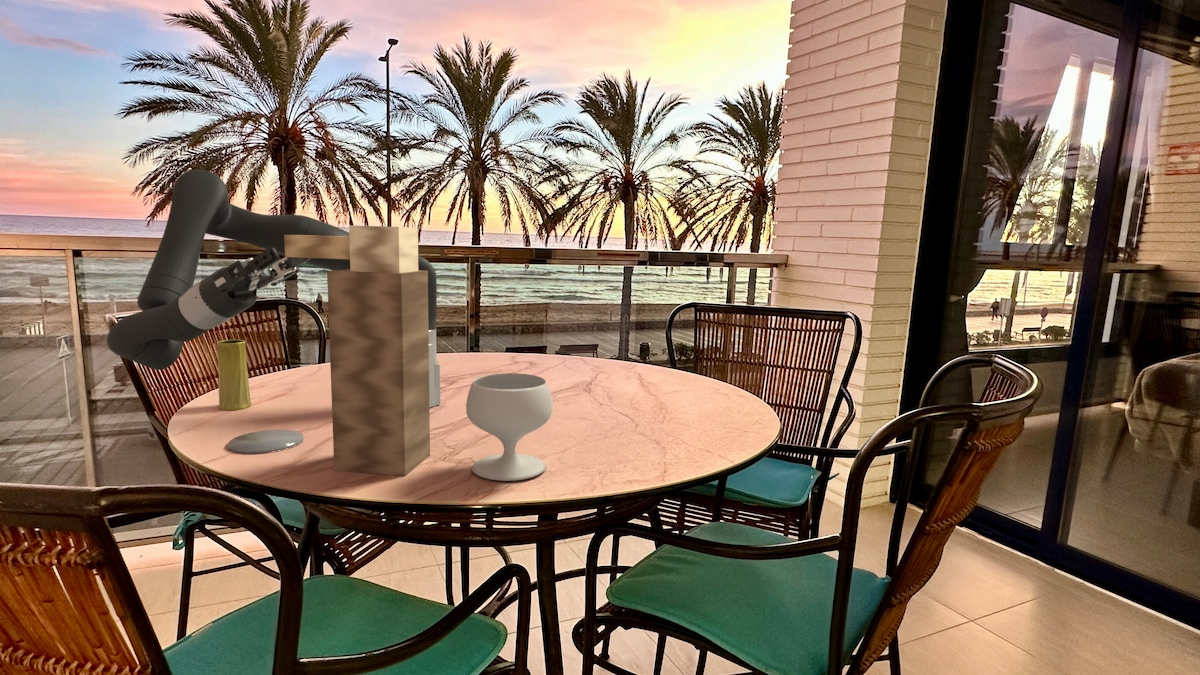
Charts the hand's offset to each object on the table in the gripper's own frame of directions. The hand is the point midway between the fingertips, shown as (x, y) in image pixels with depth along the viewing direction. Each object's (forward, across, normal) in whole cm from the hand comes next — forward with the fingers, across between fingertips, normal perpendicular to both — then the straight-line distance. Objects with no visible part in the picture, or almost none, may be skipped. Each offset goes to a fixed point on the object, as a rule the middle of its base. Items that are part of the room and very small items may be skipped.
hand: (293, 252), depth 103 cm
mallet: (+7, 0, +7) cm, 10 cm away
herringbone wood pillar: (-5, 0, +37) cm, 37 cm away
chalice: (+14, +1, +48) cm, 50 cm away
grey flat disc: (-26, +5, +25) cm, 36 cm away
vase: (-44, +25, +14) cm, 53 cm away
